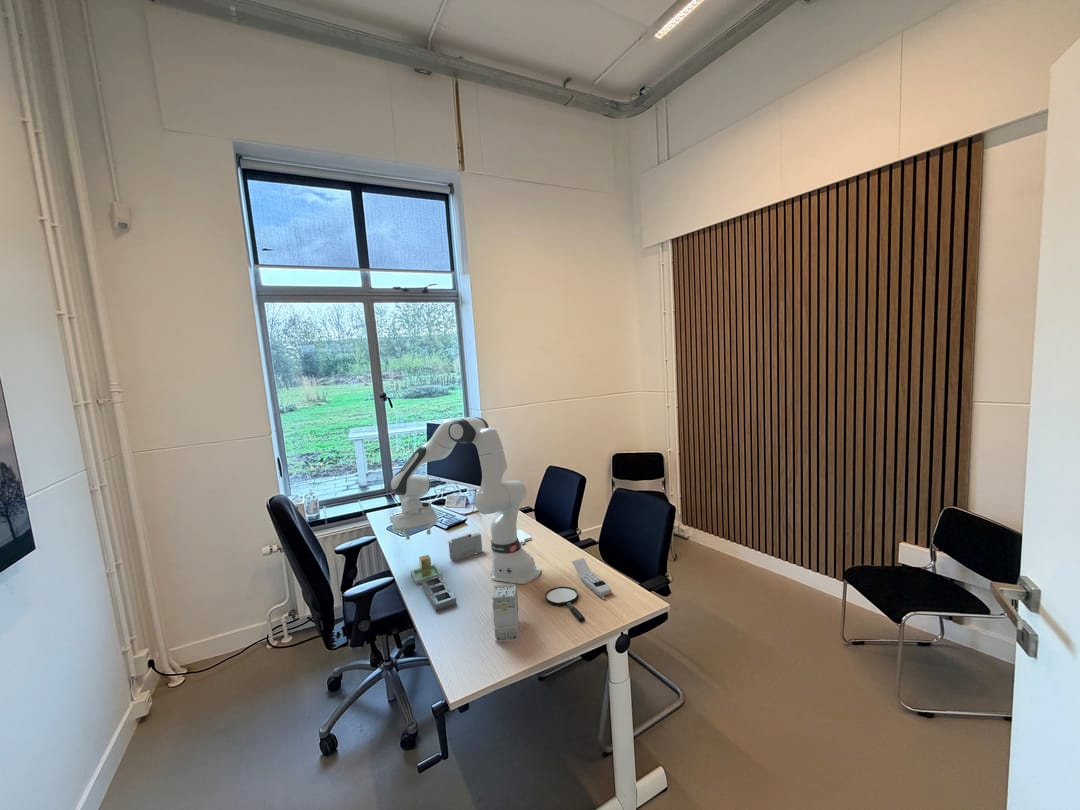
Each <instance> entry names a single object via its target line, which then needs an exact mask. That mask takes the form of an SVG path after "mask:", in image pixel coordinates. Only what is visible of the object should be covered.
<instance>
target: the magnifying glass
mask: <svg viewBox="0 0 1080 810" xmlns="http://www.w3.org/2000/svg"><path fill="white" fill-rule="evenodd" d="M544 596H545V601H546V602H547V604H549V605H551V606H554V607H558V608H559V607H567V609H569V611H570V613H571V614H572V615H573V616H574V617H575V618H576V620H577V621H579V623H584V622H585V621H586V619H585V616H584V615H583V614H582V612H580V611H579V610H578V609H577V607H576V606H574V605H573V604H575V603H576V602H577V601H578V599H579V593H578V591H577V590H576V589H575V588H573V587H570V586H556V587H552V588H551V589H549V590H547V591H546V592H545V595H544Z"/></svg>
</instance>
